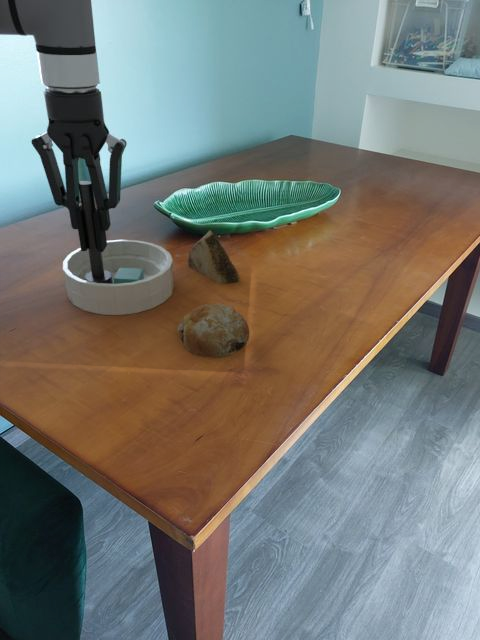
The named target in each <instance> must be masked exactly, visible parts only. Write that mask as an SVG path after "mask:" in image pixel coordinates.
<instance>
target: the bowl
mask: <svg viewBox="0 0 480 640" xmlns="http://www.w3.org/2000/svg"><path fill="white" fill-rule="evenodd" d="M101 253H102V260H103V268H104V270H106V271H109V272H110V273H111V274H112V279H113V284H106V283H95V282H91V281H86V280H85V275H86V274H87V273H88V272H91V266H90V259H89V252H88V249H87V251H81V247H79V248H76V249H75V250H74V251H72V252H70V253H68V254H67V255H66V257H65V259H64V260H63V262H62V273H63V279H64V284H65V290H66V294H67V298H68V300H69V301H70V302H71V303H72V305H73V306H75V307H77V308H78V309H80V310H82V311H85V312H89V313H94V314H97V315H104V316H105V315H107V316H122V315H123V316H124V315H132V314H137V313H142V312H146V311H149V310H152V309H154V308H156V307H158V306H161V304H163V303H165V302H166V301H167V300H168V299H169V298H170V297H172V296H173V295H172V294H173V292H174V289H175V283H174V282H175V280H174V261H173V257H172V255H171V253H170V252H169V251H168V250H167V249H165V248H164V247H163V246H160V245H157V244H156V243H153V242H148V241H142V240H136V239H111V240H107V246H106V248H105V250H104V251H103V252H101ZM119 268H135V269H143V274H144V279H143V280H139V281H135V282H130V283H120V284H114V277H115V275H116V273H117V271H118V269H119Z"/></svg>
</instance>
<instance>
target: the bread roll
mask: <svg viewBox="0 0 480 640" xmlns="http://www.w3.org/2000/svg"><path fill="white" fill-rule="evenodd" d="M177 332H178V333H181V335H182V336H181V341H182V342H183V346H184V347H185V349H187V351H189V352H191V353H192V354H193V355H194V356H198V357H205V358H206V357H207V358H218V359H220V358H225V357H227V356H232V355H235V354H236V353H237V351H239V350H241V349H242V348H244V347H245V346H246V345H247V344H248V341H249V340H250V328H249V324H248V322H247V320H246V319H245V318H244V316H243V315H242V314H241V313H240V312H238V311H237V310H236V309H235V308H234V307H233V306H228V305H226V304H222V303H207V304H206V303H205V304H202V305H199V306H196V307H195V308H193V309H191V311H190V312H188V313H187V314H186V315H184V316H182V322H180V323H179V324H178V326H177Z"/></svg>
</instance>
